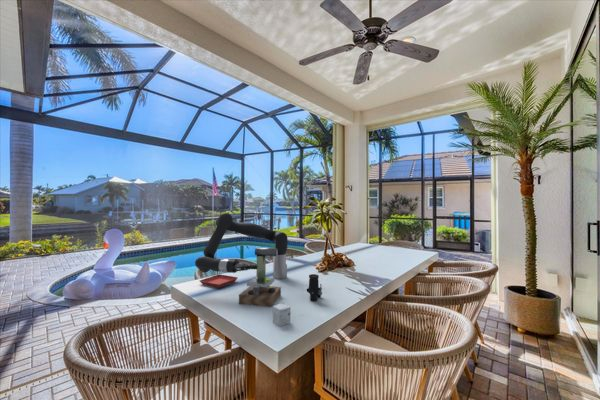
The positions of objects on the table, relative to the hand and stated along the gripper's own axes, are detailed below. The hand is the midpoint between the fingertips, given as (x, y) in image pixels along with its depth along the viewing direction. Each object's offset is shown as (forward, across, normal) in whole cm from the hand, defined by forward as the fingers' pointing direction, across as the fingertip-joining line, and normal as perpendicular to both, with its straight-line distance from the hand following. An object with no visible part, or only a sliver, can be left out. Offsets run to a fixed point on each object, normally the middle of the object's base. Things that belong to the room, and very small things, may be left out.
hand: (256, 267), depth 148 cm
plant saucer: (-36, +21, +18) cm, 45 cm away
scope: (+31, +8, +19) cm, 37 cm away
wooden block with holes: (+2, 0, +18) cm, 18 cm away
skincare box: (+22, -24, +19) cm, 37 cm away
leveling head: (+4, 0, +11) cm, 11 cm away
